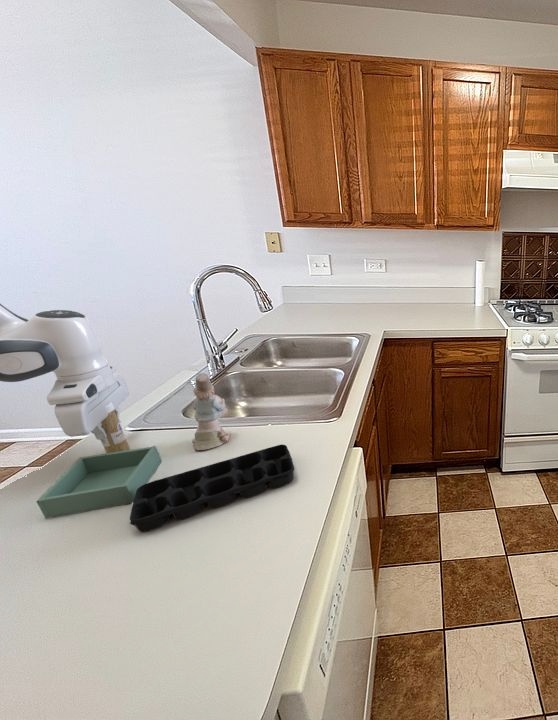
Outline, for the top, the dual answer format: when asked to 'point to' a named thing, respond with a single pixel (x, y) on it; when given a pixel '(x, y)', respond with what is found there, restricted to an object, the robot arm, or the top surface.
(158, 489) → the egg carton
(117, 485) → the bin
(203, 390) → the figurine
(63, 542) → the top surface
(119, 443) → the sprinkles bottle
